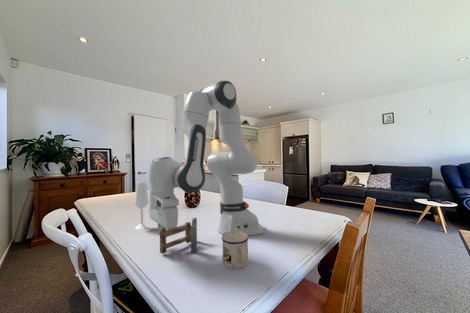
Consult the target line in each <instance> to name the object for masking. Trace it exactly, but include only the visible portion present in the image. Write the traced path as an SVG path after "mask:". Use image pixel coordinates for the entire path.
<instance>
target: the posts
mask: <svg viewBox="0 0 470 313" xmlns="http://www.w3.org/2000/svg"><path fill="white" fill-rule="evenodd" d="M190 235H191V242H190V253H191V254H196V253H197V251H198V219H197V217H192V218H191V230H190Z"/></svg>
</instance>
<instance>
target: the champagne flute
mask: <svg viewBox="0 0 470 313" xmlns="http://www.w3.org/2000/svg"><path fill="white" fill-rule="evenodd" d="M134 196H135V197H134V205H135V206H136V207H137V208H138V209H140V223H139V224H138V225H137V226H135V227H134V229H135V230H144V229H146V228H149V225H148V224H146V223H144V209H145V208H146V207H147V206H148V204H149V203H150V200H149V193H148V184H147V181H136V186H135V195H134Z"/></svg>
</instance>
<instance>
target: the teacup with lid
mask: <svg viewBox="0 0 470 313" xmlns="http://www.w3.org/2000/svg"><path fill="white" fill-rule="evenodd" d="M221 240H222V264H223V266H225V267H226V268H228V269H232V270H239V269H242V268H244V267H246V266H247V265H248V264H249V236H248V235H247V234H246V233H244V232H241V231H239V230H238V228H232V231H230V232H227V233H225V234H222V237H221Z"/></svg>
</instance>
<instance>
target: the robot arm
mask: <svg viewBox="0 0 470 313" xmlns="http://www.w3.org/2000/svg"><path fill="white" fill-rule="evenodd" d="M236 102H237V91H236V87H235V85H234V84H233V83H232V82H231V81H230V80H220V81H219V80H218V82H215V83H214V82H213V83H212V84H210V85H208V86H206V87H205V88H203V89H200V90H193V91H191V92H189V93H188V95H187V98H186V100H185V102H184V104H183V108H182V114H181V117H180V118H181V119H180V121H181V122H180V129H181V131H182V132H183V134H184V135H185V136H186V138H187V140H188V141H187V142H188V144H187V154H186V159H185V160H186V161H185V164H184V163H180V162H178V161H177V160H174V159H173V158H172V157H171V156H164V157H159V158H155V159H153V160H152V161H151V162H150V165H149V176H148V177H149V179H148V180H149V185H150V187H149V193H148V197H149V209H148V210H149V211H148V214H149V219H151V220H152V221H154V222H155V223H156V224H157V228H158V235H160V231H161V230H169V229H173V228H176V227H178V223H179V222H178V221H179V209H178V206H179V205H180V200H179V199H178V198H177V196H176V194H174V193H175V191H174V189H175V188H178V189H180V190H182V191H184V192H185V193H188V194H193V193H197V192H199V191H200V190H201V189H202V188H203V187H204V184H205V182H206V173H205V167H204V161H205V160H204V159H205V150H206V141H207V140H206V138H207V128H208V122H209V116H210V111H213V110H216V111H217V113H218V135H219V136H218V137H219V140H220V142H221V143H222V144H224V145H226V146H227V147H229V149H230V151H228V152H227V151H226V152H225V151H224V152H221V151H220V152H215V153H211V154H210V155H209V156H208V157H207V160H206V167H207V169H208V171H209V172H211V173H212V174H213V176H214V177H215V178H216V180H217V181H218V185H219V189H220V190H219V191H220V201H219V202H220V203H219V212H220V218H219V225H218V230H217V231H218V233H219V234H221V235H224V234H225V233H227V232H230V231H232V228H238V230H239V231H241V232H244V233H246V234H247V235H248V237H249V236H256V235H262V234H264V232H265V229H264V226H263V225H262V224H260V223H259V219H258V216H257V215H256V214H255V213H253V212H252V211H251V210H249V207H250V206H249V203H247V202H246V201H245V200H244V188H243V185H242V184H241V183H240V182H238V181H237V180H235V179H234V178H233V175H247V174H251V173H254V171H255V170H256V168H257V166H258V160H257V157H256V156H255V154H254V153H253V152H251V151H250V150H249V149H248V148H247V146H246V145H245V142H244V141H243V135H242V120H241V113H240V108H239V105H238V103H236Z"/></svg>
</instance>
